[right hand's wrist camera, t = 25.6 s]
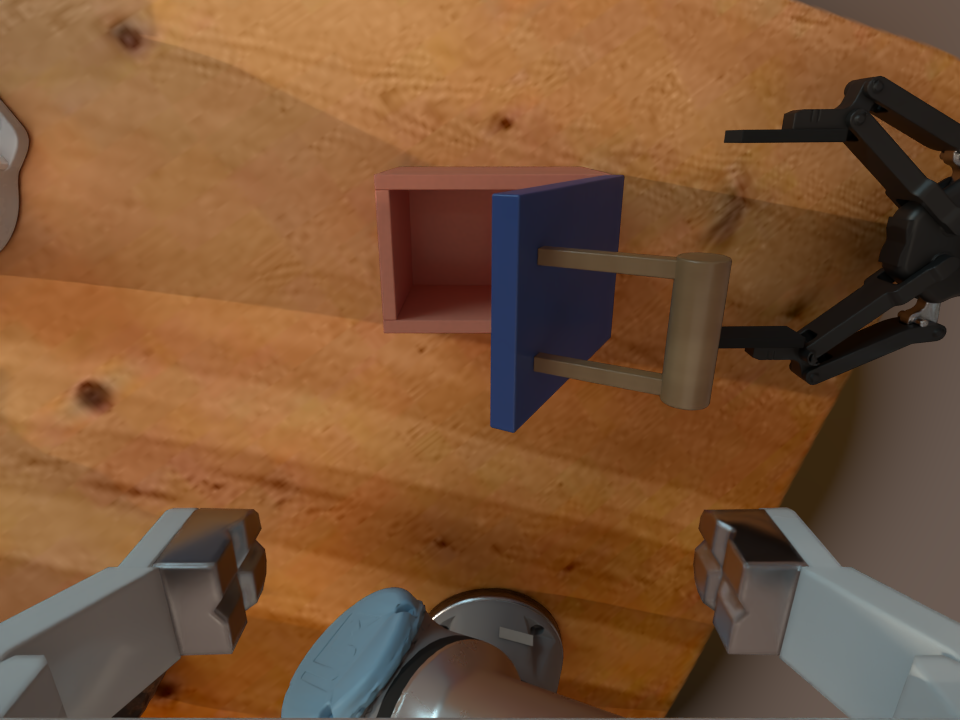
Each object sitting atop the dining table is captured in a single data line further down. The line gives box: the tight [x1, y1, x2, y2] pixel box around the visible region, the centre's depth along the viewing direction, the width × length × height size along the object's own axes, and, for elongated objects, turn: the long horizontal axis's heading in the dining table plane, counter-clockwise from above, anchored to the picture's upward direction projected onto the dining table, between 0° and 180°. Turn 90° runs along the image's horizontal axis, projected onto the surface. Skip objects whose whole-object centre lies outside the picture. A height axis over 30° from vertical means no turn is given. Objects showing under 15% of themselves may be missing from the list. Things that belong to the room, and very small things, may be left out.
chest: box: [374, 167, 612, 333], centre depth 40 cm, size 14×10×11 cm
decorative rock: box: [111, 670, 167, 718], centre depth 57 cm, size 12×6×11 cm, turn 142°
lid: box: [490, 175, 732, 433], centre depth 27 cm, size 14×10×8 cm
